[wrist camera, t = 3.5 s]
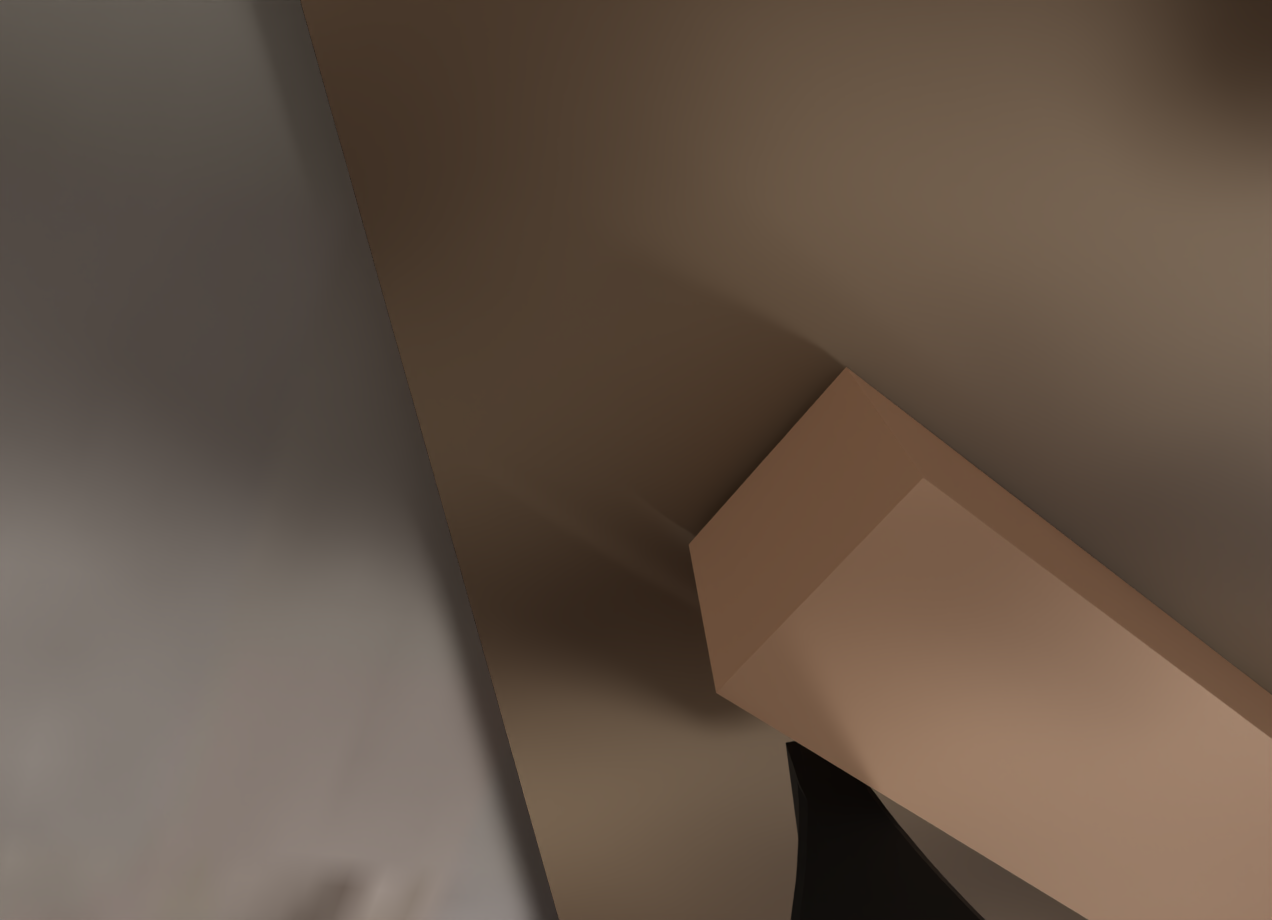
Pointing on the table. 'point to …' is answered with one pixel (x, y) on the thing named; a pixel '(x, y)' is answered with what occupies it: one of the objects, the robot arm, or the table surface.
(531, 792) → the walnut plate
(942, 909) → the robot arm
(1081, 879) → the pivot arm
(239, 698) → the table surface
